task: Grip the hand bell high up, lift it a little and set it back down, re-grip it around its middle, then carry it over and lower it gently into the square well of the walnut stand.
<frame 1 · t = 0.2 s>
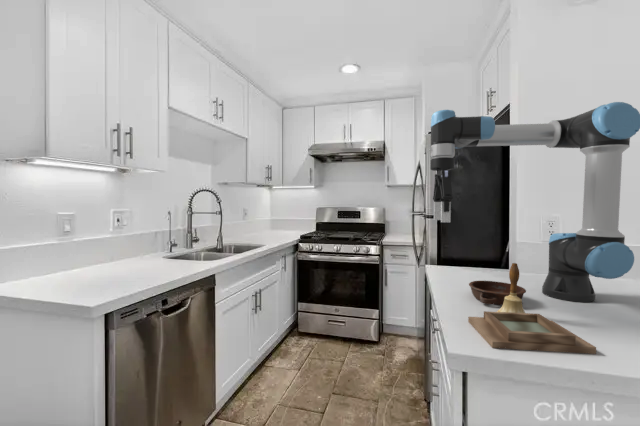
hand: (441, 221, 105), 28 cm above the worktop, tool pointing down, fingers open, 13 cm apart
walnut stand: (524, 336, 79), on the worktop
dish: (496, 300, 109), on the worktop
hand bell: (512, 316, 93), on the worktop
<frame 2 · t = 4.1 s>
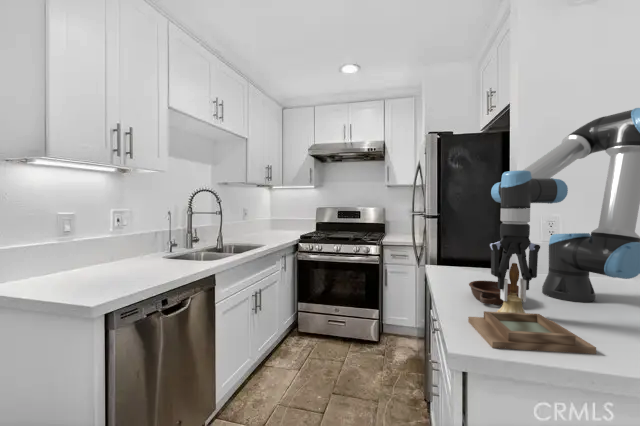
hand: (512, 300, 93), 5 cm above the worktop, tool pointing down, fingers closed on hand bell, 4 cm apart
hand bell: (512, 316, 93), on the worktop, touching gripper
everything else where it was.
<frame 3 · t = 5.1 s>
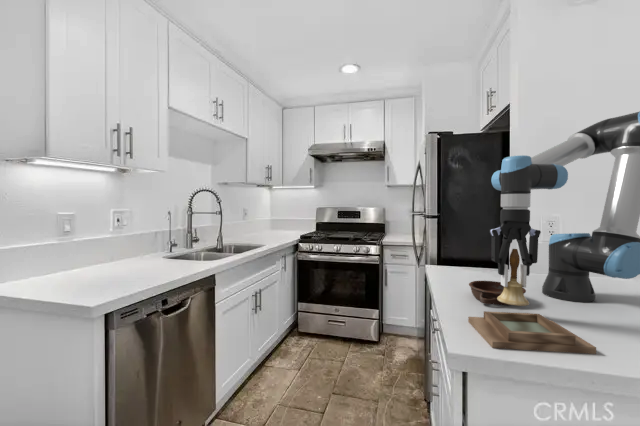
hand: (513, 285, 93), 9 cm above the worktop, tool pointing down, fingers closed on hand bell, 4 cm apart
hand bell: (512, 302, 93), point 4 cm above the worktop, touching gripper
everything else where it was.
when the fingers open (6 cm above the worktop, at t = 6.1 s): hand bell stays where it is, on the worktop.
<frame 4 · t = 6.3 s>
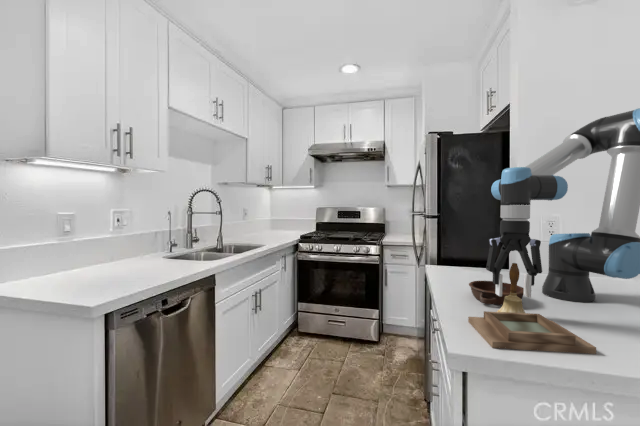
hand: (512, 295, 93), 6 cm above the worktop, tool pointing down, fingers open, 7 cm apart
hand bell: (512, 316, 93), on the worktop
everything else where it was.
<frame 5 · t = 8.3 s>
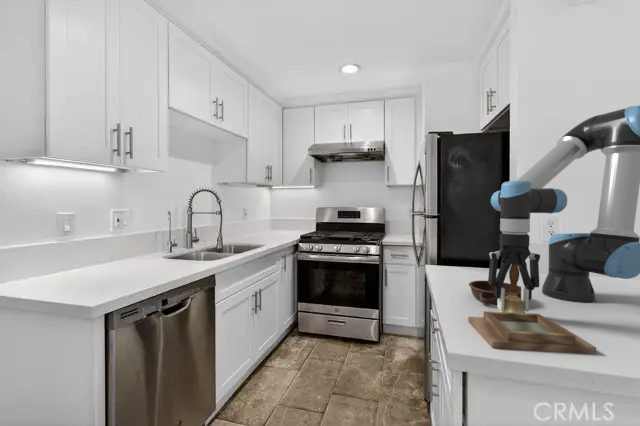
hand: (512, 309, 93), 2 cm above the worktop, tool pointing down, fingers closed on hand bell, 6 cm apart
hand bell: (512, 316, 93), on the worktop, touching gripper
everything else where it was.
when the fingers open (5 cm above the worktop, at t = 15.0 s): hand bell drops 1 cm, resting on walnut stand.
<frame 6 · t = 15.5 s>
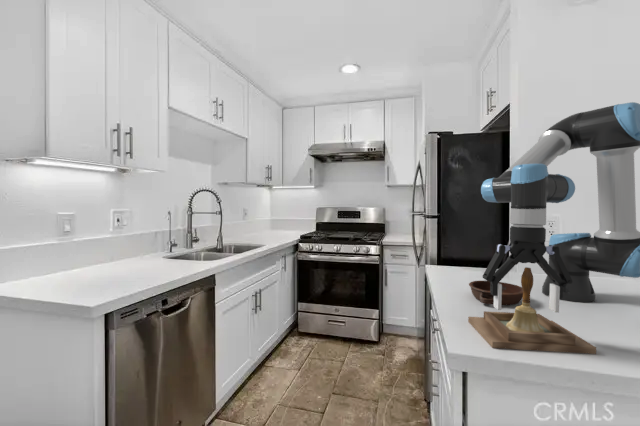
hand: (525, 309, 79), 7 cm above the worktop, tool pointing down, fingers open, 13 cm apart
hand bell: (524, 330, 79), point 1 cm above the worktop, touching walnut stand
everything else where it was.
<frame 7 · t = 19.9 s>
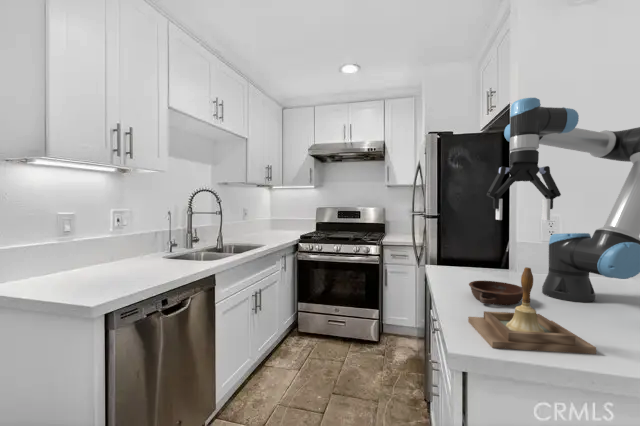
hand: (522, 220, 96), 29 cm above the worktop, tool pointing down, fingers open, 13 cm apart
nothing on the worktop moved.
at the end: hand bell 0.1 cm off-centre on the walnut stand, point 1.4 cm above the walnut stand's base; hand bell tilted 0°; the gripper is holding nothing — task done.
